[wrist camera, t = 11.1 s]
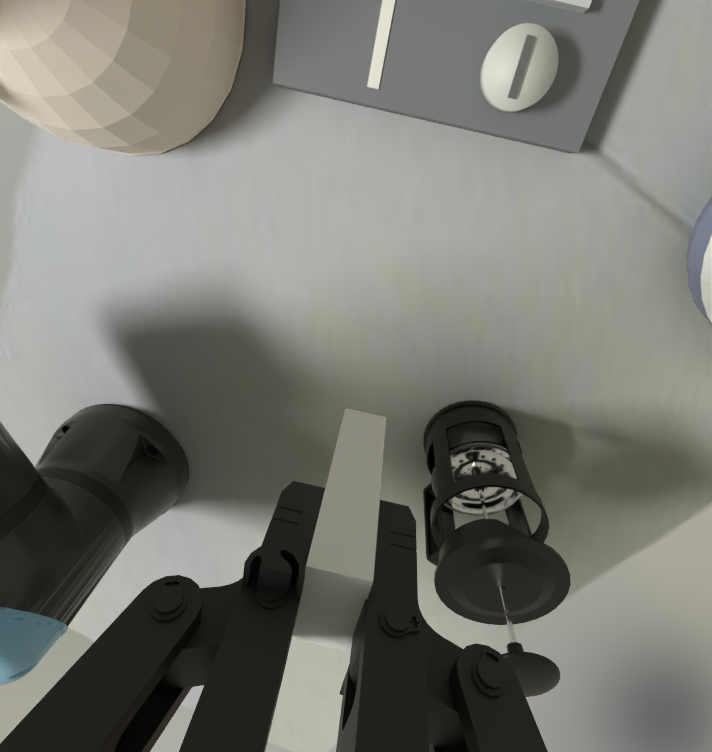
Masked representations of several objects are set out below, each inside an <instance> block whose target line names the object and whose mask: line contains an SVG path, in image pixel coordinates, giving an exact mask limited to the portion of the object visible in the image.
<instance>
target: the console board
mask: <svg viewBox="0 0 712 752" xmlns="http://www.w3.org/2000/svg"><path fill="white" fill-rule="evenodd" d="M639 1H640V0H280V4H279V15H278V27H277V38H276V49H275V61H274V72H273V83H274V84H276V85H278V86H279V87H283V88H287V89H291V90H296V91H300V92H304V93H309V94H313V95H317V96H322V97H326V98H331V99H335V100H339V101H344V102H348V103H352V104H357V105H361V106H365V107H370V108H374V109H378V110H383V111H387V112H392V113H396V114H400V115H405V116H409V117H413V118H418V119H422V120H426V121H431V122H435V123H440V124H444V125H448V126H453V127H457V128H461V129H466V130H470V131H474V132H479V133H483V134H487V135H492V136H496V137H501V138H505V139H509V140H514V141H518V142H522V143H527V144H531V145H535V146H540V147H544V148H549V149H553V150H557V151H562V152H566V153H579V150H580V148H581V145H582V143H583V140H584V138H585V135H586V133H587V130H588V128H589V125H590V123H591V120H592V118H593V115H594V113H595V111H596V108H597V106H598V103H599V101H600V98H601V96H602V93H603V91H604V88H605V86H606V83H607V81H608V78H609V76H610V73H611V71H612V68H613V66H614V63H615V61H616V58H617V56H618V53H619V51H620V48H621V46H622V43H623V41H624V38H625V36H626V33H627V31H628V28H629V26H630V23H631V21H632V18H633V16H634V13H635V11H636V8H637V6H638V3H639Z"/></svg>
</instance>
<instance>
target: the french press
mask: <svg viewBox="0 0 712 752" xmlns="http://www.w3.org/2000/svg"><path fill="white" fill-rule="evenodd" d="M472 422H477V423H487V424H492V425H494V426H497V427H500V430H501V433H502V436H503V439H504V444H503V445H501V444H497V443H494V442H487V441H473V442H467V443H463V444H459V445H457V446H454V447H452V448H450V449H449V442H448V435H447V430H448V429H450V428H452V427H454V426H458V425H461V424H465V423H472ZM423 443H424V449H425V452H426V456H427V465H428V469H429V471H430V473H431V475H432V476H431V483H430V484H429V485H428V486H427V487H426V488H425V489H424V491H423V495H424V516H425V537H426V557H427V560H428V561H430V562H431V563H433V564H434V565H436V566H437V568H436V570H435V579H434V582H435V588H436V592H437V594H438V596H439V597H440V599H441V601H442V602H443V603H444V604H445V605H446V606H447V607H448V608H449V609H451V610H452V611H453V612H455V613H456V614H458V615H460V616H462V617H464V618H467V619H470V620H473V621H476V622H481V623H486V624H495V625H507V628H508V633H509V638H510V643H509V644H508V645H507V651H508V653H505V654H502V656H503V657H504V658H505V659H506V660H507V661H508V662H509V663H510V665H511V667H512V669H513V670H514V672H515V674H516V676H517V678H518V680H519V683H520V685H521V688H522V690H523V693H524V695H525V697H530V696H536V695H540V694H543V693H546V692H548V691H549V690H551V689H553V688H554V687H555V686H556V685H557V684H558V682H559V679H560V671H559V668H558V667H557V666H556V664H555V663H553V662H552V661H551V660H550V659H548V658H546V657H544V656H541V655H538V654H534V653H529V652H524V651H523V647H522V645H521V644H520V643H517V641H516V637H515V632H514V628H513V624H518V623H524V622H528V621H531V620H534V619H537V618H539V617H542V616H544V615H546V614H548V613H549V612H551V611H552V610H554V609H555V608H556V607H557V606H558V605H559V604H560V603H561V602H562V601H563V600H564V598H565V597H566V595H567V594H568V591H569V587H570V574H569V571H568V568H567V565H566V563H565V561H564V560H563V559H562V557H561V556H560V555H559V554H558V553H557V552H556V551H555V550H554V549H553V548H551V547H550V546H548V545H546V544H544V541H545V539H546V537H547V534H548V530H549V521H548V517H547V514H546V511H545V509H544V506H543V504H542V501H541V499H540V497H539V496H538V494H537V493H536V491H535V489H534V486H533V484H532V481H531V478H530V476H529V473H528V471H527V468H526V465H525V463H524V460H523V458H522V452H521V448H520V445H519V442H518V440H517V431H516V428H515V426H514V423H513V421H512V420H511V418H510V417H509V416H508V415H507V414H506V413H505V412H504V411H503V410H501V409H500V408H498V407H496V406H494V405H492V404H489V403H486V402H480V401H464V402H458V403H455V404H452V405H449V406H447V407H445V408H443V409H442V410H440V411H439V412H438V413H436V414H435V415H434V416H433V418H432V419H431V420H430V421H429V423H428V425H427V427H426V429H425V433H424V442H423ZM522 494H524V495H526V496H527V497H529V498H531V499H532V500H533V501H534V502H535V503H536V504H538V506H539V507H540V508H541V513H542V516H541V521H540V524H539V526H538V528H537V530H536V531H535V533H534V534H533V535H532V534H531V531H530V528H529V525H528V522H527V519H526V516H525V513H524V510H523V506H522V503H521V500H520V496H521V495H522ZM504 509H505V511H506V515H507V518H508V522H509V525H510V526H509V525H507V524H505V523H503V522H500V521H498V520H496V519H489V517H488V514H493V513H497V512H499V511H502V510H504ZM453 511H456V512H459V513H462V514H467V515H484V519H480V520H476V521H472V522H470V523H467V524H465V525H462V526H461V527H459V528H457V529H456V530H455V523H454V515H453Z"/></svg>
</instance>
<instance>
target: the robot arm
mask: <svg viewBox="0 0 712 752" xmlns="http://www.w3.org/2000/svg"><path fill="white" fill-rule="evenodd" d="M385 430H386V417H383V416H378V415H374V414H370V413H365V412H361V411H357V410H352V409H348V408H345V411H344V415H343V419H342V423H341V427H340V431H339V435H338V439H337V443H336V447H335V451H334V455H333V459H332V463H331V467H330V471H329V475H328V479H327V483H326V488H322V487H317V486H313V485H309V484H304V483H300V482H296V481H293V482H292V483H291V484H289V485H288V486H287V487H286V488H285V489H284V490H283V491H282V493H281V495H280V498H279V501H278V503H277V507H276V509H275V511H274V514H273V517H272V520H271V522H270V525H269V527H268V530H267V533H266V535H265V538H264V541H263V543H262V546H261V547H259V548H258V549H256V550H255V551H253V552H252V553H251V554H250V555H249V557H248V558H247V560H246V562H245V566H244V574H243V578H242V579H240V580H239V581H237V582H235V583H232V584H230V585H226V586H220V587H210V588H199V586H198V584H196V583H195V582H194V581H193V580H192V579H190V578H187V577H183V576H180V575H177V576H166V577H164V578H161V579H159V580H156V581H154V582H153V583H151V584H150V585H149V586H147V587H146V588H145V589H144V590H143V591H142V592H141V593H140V594H139V595H138V596H137V597H136V598H135V599H134V600H133V601H132V602H131V604H130V605H129V606H128V607H127V608H126V609H125V610H124V611H123V612H122V613H121V614H120V615H119V616H118V618H117V619H116V620H115V621H114V622H113V623H112V624H111V625H110V626H109V627H108V628H107V629H106V630H105V632H104V633H103V634H102V635H101V636H100V637H99V638H98V639H97V640H96V641H95V642H94V643H93V644H92V646H91V647H90V648H89V649H88V650H87V651H86V652H85V653H84V654H83V655H82V656H81V657H80V658H79V660H78V661H77V662H76V663H75V664H74V665H73V666H72V667H71V668H70V669H69V670H68V672H66V674H65V675H64V676H63V677H62V678H61V679H60V680H59V681H58V682H57V683H56V684H55V685H54V687H53V688H52V689H51V690H50V691H49V692H48V693H47V694H46V695H45V697H43V698H42V700H41V701H40V702H39V703H38V704H37V705H36V706H35V707H34V708H33V709H32V710H31V711H30V712H29V713H28V715H27V716H26V717H25V718H24V719H23V720H22V721H21V722H20V723H19V724H18V725H17V726H16V727H15V729H14V730H13V731H12V732H11V733H10V734H9V735H8V736H7V737H6V738H5V739H4V740H3V741H2V743H1V744H0V752H150V751H151V749H152V747H153V746H154V744H155V743H156V741H157V740H158V738H159V737H160V735H161V734H162V732H163V731H164V729H165V727H166V726H167V724H168V723H169V721H170V720H171V718H172V717H173V715H174V714H175V712H176V711H177V709H178V707H179V706H180V705H181V703H182V701H183V700H184V698H185V697H186V695H187V694H188V692H189V691H190V689H191V688H192V687H194V686H200V685H204V688H203V690H202V693H201V696H200V698H199V701H198V703H197V706H196V709H195V711H194V714H193V717H192V720H191V722H190V724H189V727H188V730H187V732H186V735H185V737H184V740H183V743H182V745H181V748H180V750H179V752H265V749H266V745H267V741H268V736H269V732H270V728H271V724H272V720H273V715H274V711H275V707H276V703H277V699H278V694H279V690H280V686H281V682H282V678H283V673H284V669H285V665H286V660H287V656H288V652H289V647H290V643H291V639H292V638H293V639H298V640H302V641H306V642H311V643H315V644H319V645H323V646H328V647H332V648H336V649H341V650H345V651H350V648H351V656H350V664H349V667H348V670H347V673H346V676H345V678H344V681H343V684H342V687H341V690H340V695H343V699H342V708H341V716H340V724H339V732H338V740H337V748H336V752H548V751H547V749H546V747H545V744H544V742H543V739H542V737H541V734H540V732H539V729H538V727H537V725H536V722H535V720H534V717H533V715H532V712H531V710H530V708H529V705H528V703H527V700H526V698H525V695H524V693H523V690H522V688H521V685H520V683H519V680H518V678H517V676H516V674H515V672H514V670H513V669H512V667H511V665H510V663H509V662H508V661H507V660H506V659H505V658H504V657H503V656H502V655H501V654H500V653H499V652H497V651H496V650H494V649H492V648H491V647H489V646H486V645H481V644H473V645H469V646H466V647H465V648H464V649H462V648H460V647H458V646H457V645H455V644H453V643H452V642H450V641H448V640H447V639H445V638H443V637H442V636H440V635H439V634H438V633H436V632H435V631H434V630H433V629H432V628H431V627H430V626H429V625H428V624H427V622H426V621H425V619H424V618H423V616H422V614H421V611H420V609H419V605H418V595H417V552H416V521H415V519H414V517H413V514H412V512H411V510H410V508H409V507H408V506H404V505H400V504H395V503H391V502H387V501H382V500H380V491H381V479H382V467H383V454H384V442H385ZM187 481H188V465H187V461H186V458H185V456H184V453H183V451H182V449H181V448H180V446H179V445H178V443H177V442H176V440H175V439H174V438H173V437H172V436H171V435H170V433H169V432H168V431H166V430H165V429H164V428H163V427H162V426H161V425H159V424H158V423H157V422H155V421H154V420H152V419H151V418H149V417H147V416H145V415H144V414H141V413H139V412H137V411H134V410H132V409H129V408H125V407H121V406H115V405H95V406H90V407H87V408H85V409H82V410H80V411H79V412H77V413H76V414H75V415H73V416H72V417H71V418H69V419H68V420H67V421H66V422H64V423H63V424H62V425H61V426H60V427H59V428H58V429H57V431H56V432H55V434H54V435H53V437H52V439H51V440H50V442H49V444H48V446H47V447H46V449H45V451H44V452H43V454H42V456H41V457H40V459H39V461H38V463H37V464H36V466H35V467H34V466H33V464H32V463H31V462H30V460H29V459H28V458H27V456H26V455H25V454H24V452H23V451H22V450H21V448H20V447H19V446H18V444H17V443H16V442H15V440H14V439H13V438H12V436H11V435H10V434H9V433H8V431H7V430H6V429H5V427H4V426H3V425H2V423H1V422H0V685H4V684H8V683H11V682H13V681H16V680H18V679H20V678H22V677H24V676H25V675H26V674H28V673H29V672H30V671H31V670H32V669H33V668H34V667H35V666H36V665H37V664H38V663H39V661H40V660H41V659H42V658H43V656H44V655H45V654H46V653H47V652H48V650H49V649H50V648H51V647H52V646H53V644H54V643H55V642H56V641H57V640H58V638H59V637H61V636H62V635H63V634H64V633H65V632H66V630H67V628H68V625H69V624H70V623H71V621H72V620H73V618H74V617H75V615H76V614H77V613H78V611H79V610H80V608H81V607H82V606H83V604H84V603H85V601H86V600H87V599H88V597H89V596H90V594H91V593H92V592H93V590H94V589H95V587H96V586H97V585H98V583H99V582H100V580H101V579H102V577H103V576H104V575H105V573H106V572H107V570H108V569H109V568H110V566H111V565H112V563H113V562H114V561H115V559H116V558H117V556H118V555H119V554H120V552H121V551H122V549H123V548H124V547H125V545H126V544H127V543H128V541H129V540H130V539H131V537H132V536H134V535H135V534H136V533H138V532H139V531H140V530H142V529H143V528H145V527H146V526H147V525H149V524H150V523H151V522H153V521H154V520H155V519H157V518H158V517H159V516H160V515H162V514H164V513H165V512H167V511H168V510H169V509H170V508H171V507H172V506H173V505H174V504H175V502H176V501H177V499H178V498H179V496H180V495H181V494H182V492H183V491H184V489H185V487H186V484H187ZM351 645H352V647H351Z"/></svg>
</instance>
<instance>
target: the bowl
mask: <svg viewBox="0 0 712 752" xmlns="http://www.w3.org/2000/svg"><path fill="white" fill-rule="evenodd" d="M687 268H688V281H689V288H690V291H691V294H692V297H693V300H694V302H695V304H696V305H697V307H698V308H699V310H700V311H701V313H702V314H703V316H704V317H705V318H706V319H707V320H708V321H709V322H710V323H711V324H712V197H711V199H710V200H709V201H708V203H707V204H706V205H705V207H704V209H703V210H702V212H701V214H700V216H699V218H698V219H697V221H696V223H695V226H694V228H693V231H692V234H691V237H690V240H689V246H688V252H687Z"/></svg>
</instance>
